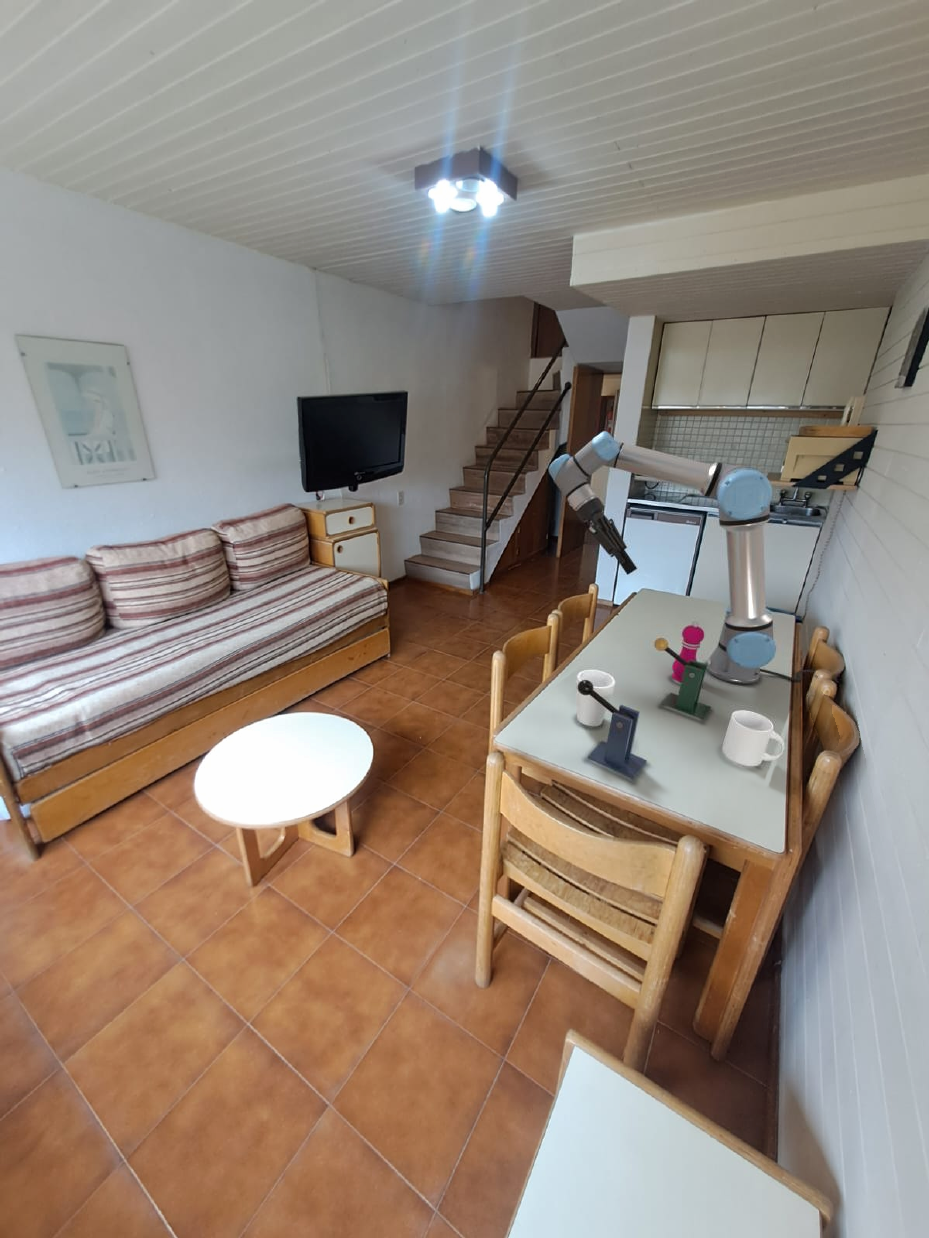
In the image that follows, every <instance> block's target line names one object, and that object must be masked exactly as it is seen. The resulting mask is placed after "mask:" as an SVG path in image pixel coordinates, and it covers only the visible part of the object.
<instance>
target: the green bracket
mask: <svg viewBox="0 0 929 1238" xmlns="http://www.w3.org/2000/svg"><path fill="white" fill-rule="evenodd" d="M689 664H690V665H693V664H696V665H697V666H698V667H700V668H701V669H702V670H701V669H698V668H695V667H692V666H689V665H686V666H685V669H684V673H683V677H682V681H681V682H680V685H679V690H678V693H677V694H676V693H674V692H670V693H669V694H668V695H667V697H666V698H665V699H664V701H662V703H661V705H662V706H665V707H668V708H671V709H674V710H675V711H679V712H680V713H681V712H682V713H684V714H687V715H690V716H692V717H696V718H698V719H700V720H704V719H705V717H706V716H707V714H708V713H709V711H710V710H711V708H712V706H710V705H708V704H705V703H702V702H699V700H700V696H701V691H702V688H703V683H704V679H705V676H706V673H707V663H703V662H700V661H698V660H697V661H694V660H690V661H689Z"/></svg>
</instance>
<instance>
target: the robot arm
mask: <svg viewBox="0 0 929 1238" xmlns="http://www.w3.org/2000/svg"><path fill="white" fill-rule="evenodd" d="M603 466H605V467H609V468H611V469H617V470H621V471H625V472H628V473H632V474H635V475H639V476H643V477H646V478H649V479H654V480H657V481H661V482H665V483H668V484H673V485H676V486H679V487H684V488H688V489H691V490H694V491H698V492H700V494H701V495H702V496H703V497H707V498H709V499H713V500H715V501H716V502H717V507H718V509H717V510H718V523H719V527H721V528H723V529H724V530H725V534H726V535H725V537H726V555H727V556H726V557H727V570H728V571H727V572H728V574H727V575H728V591H729V605H728V606H727V609H726V610H725V617H724V621H723V624H722V627H721V631H720V636H719V640H718V643H717V646H716V648H715V649H714V650H713V652H712V653H711V654H710V656H709V657H708V658H707V660H706V664H707V669H706V672H708V673H709V674H710V675H712V676H713V677H715V678H717V679H718V680H722V681H725V682H727V683H731V684H737V685H752V684H756V683H757V682H759V679H760V676H761V673H764V674H769V675H773V676H777V677H780V678H783V679H785V680H790V681H793V682H800V681H802V680H803V676H802V674H815V673H814V671H815V670H813V669H800V670H798V671H797V676H798V677H791V676H788V675H786V674H782V673H779V672H776V671H772V670H767V669H764V668H763V667H764V666H766V665H768V664H769V663H771V662H772V661H773V659H774V658H775V656H776V653H777V644H776V642H775V640H774V620H773V619H774V618H773V616H772V611H771V610H770V609H769V608H766V607H767V601H766V599H767V598H766V570H765V569H766V568H765V567H766V566H765V542H764V541H765V540H764V539H765V538H764V527H765V525H766V524H767V523H768V522H769V521H770V520H771V511H770V510H771V506H770V504H771V501H772V497H773V487H772V484H771V481H770V480H769V479H768V477H767V476H766V475H765V474H764V473H762V472H760V471H759V470H757V469H755V468H754V467H751V466H747V465H735V464H727V463H724V462H719V461H715V462H714V463H706V462H702V461H699V460H694V459H690V458H686V457H682V456H678V455H675V454H670V453H667V452H662V451H658V450H656V449H655V450H654V449H650V448H648V447H647V448H646V447H642V446H638V445H635V444H630V443H626V442H621V441H618V440H615V438H613V436H612V435H611V433H609V432H608V431H606V430H603V431H601V432H600V433H599V434H598V435H596V436H594V437H593V438H592V440H590V441H589V442H588V443H587V444H585V446H583V447H582V448H581V449H580V450H578V451H577V452H576V453H575V454H574V455H572V456H570V454H568V453H565V454H562V455H560V456H559V457H558V458H556V459H554V460H553V461H552V462H551V464H550V465H549V467H548V473H549V475H550V477H551V478H552V480H553V482H554V484H555V485H556V486H557V488H558V489H559V490H560V492H561V493H562V494H563V496H564V497H565V499H566V500H567V502H568V505H569V506H570V507H572V509H573V511H575V514H576V515H577V517H578V518H579V520H580V522H582V523H586V522H587V525H588V526H589V527H588V528H587V532H588V533H589V534H590V535H591V536H592V537H593V538H594V539H595V540H596V541H597V542H598V544H599V545H600V546H601V547H602V549H603V550H604V551H605V552H606V553H607V554H608V556H610V558H613V557H614V558H615V559H616V561H617V562H618V563H619V565H620V566H621V567H622V570H623V571H624V572H625V574H626V575H627V576H628V575H630V574H632V573H633V572H635V571H636V570H637V569H638V567H637V565H636V564H635V563H634V561H633V559H632V558H631V557H630V555H629V554H628V552H627V551H626V549H627V548H628V546H627V545H626V543H625V541H624V539H623V537H622V535H621V533H620V532H619V530H618V528H617V527H616V525H615V521H614V519H613V518H610V519H609V518H608V517H607V516H606V515H605V513H604V512H603V510H605V505H604V504H603V501H602V500H601V499H600V498H599V497H597V493H596V491H595V490H594V489H593V487H592V485H590V483H589V481H588V480H587V479H588V478H590V477H591V476H592V475H593V474H595V473H596V472H597V471H598V470H600V469H601V468H602V467H603ZM832 681H833V682H834V681H835V683H839V680H838V679H837V678H836V677H835V678H834V679H833V680H832Z"/></svg>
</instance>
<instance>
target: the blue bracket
mask: <svg viewBox="0 0 929 1238" xmlns="http://www.w3.org/2000/svg"><path fill="white" fill-rule="evenodd" d="M624 710H625V711H626V712H627V713H629V714H630V715H631V716H632V717H633V718H634V720H633V719H630V718H628V717H625V716H623V715H620V714H618V713H615V712H614V713H611V718H610V724H609V728H608V729H609V730H608V735H607V740H606V741H604V740H601V742H600V743H599V744H598V745H597V746H596V747H595V748H594V749H593V751H591V752H590V754H589V755H588V756H587V759H589V760H591V761H592V762H595V763H597V764H599V765H602V766H603V767H606V768H608V769H610V770H612V771H614V772H617V773H618V774H621V775H623V776H625V777H627V778H629V779H631V780H634V779H635V778H636V777H637V775H638V774H639V773H640V771H641V770H642V768H643V767H644V766H645V764H646V763H647V759H644V758H642V757H640V756H638V755H635V754H633V753H632V752H633V746H634V742H635V737H636V731H637V727H638V722H639V718H640V713H641V712H640V711H639V710H637V709H636V710H635V709H633V708H631V707H629V706H625V705H623V704H620V705H619V707H618V711H620V712H621V713H622V712H623V711H624Z"/></svg>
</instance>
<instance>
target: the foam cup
mask: <svg viewBox="0 0 929 1238" xmlns="http://www.w3.org/2000/svg"><path fill="white" fill-rule="evenodd" d="M582 680H588V681H590V682H591V683H592V684H593V687H594V688H593V690H594V691H595V692H596V693H597V694H599V695H600V696H601V697H602V698H604V699H605V700H606V701H607V702H609V703H610V701H611V697H612V695H613V693H614V691H615V687H616V680H615V678H614V677H613V676H612V675H611V674H609V673H608V672H605V671H602V670H599V669H584V670H582V671H578V674H577V675H576V681H575V685H576V719H577V721H578V722H580V723H581V724H583V725H585V726H588V727H598V726H600V725H602V723H603V721H604V718H605V716H606V715H605V714H606V712H607V709H606V708H605V707H604V706H603V705H601V704H600V703H599V702H598V701H597V700H595V699H594V698H593V697H592V696H590V695H582V694H580V693H579V691H578V684H579V682H581V681H582Z"/></svg>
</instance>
